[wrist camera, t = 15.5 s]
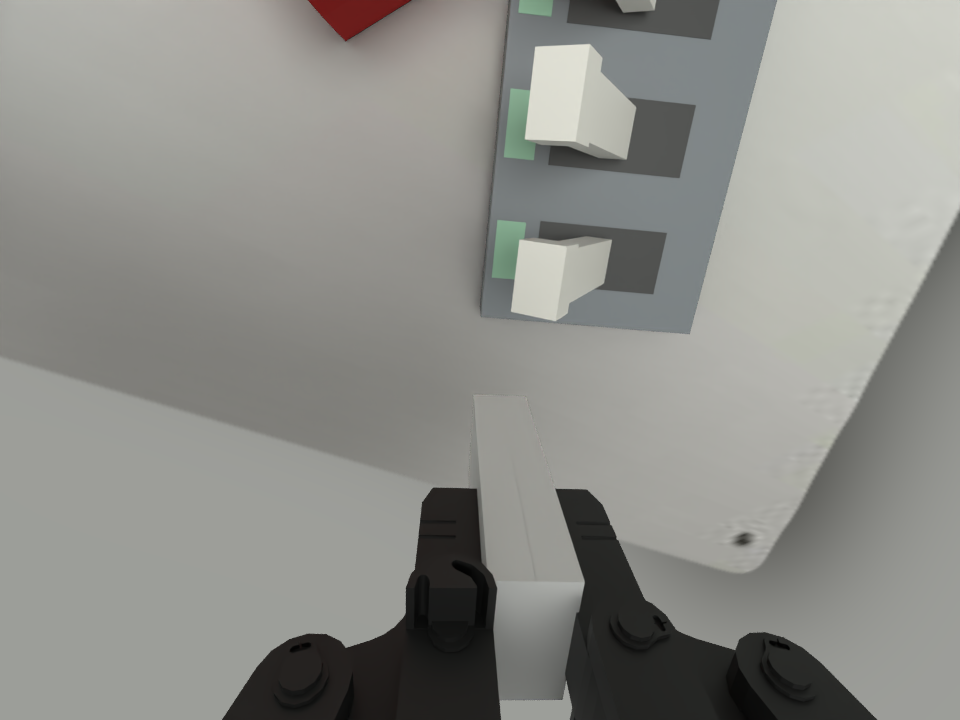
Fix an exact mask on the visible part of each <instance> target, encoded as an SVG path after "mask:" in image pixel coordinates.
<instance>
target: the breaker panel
mask: <svg viewBox="0 0 960 720" xmlns="http://www.w3.org/2000/svg"><path fill="white" fill-rule="evenodd" d="M776 2H777V0H656V4H655V10H653V11H640V12H626V13H623V12H622V10H621V8H620V7H619V5H618V3H617V2H616V0H509V4H508V15H507V26H506V36H505V47H504V58H503V68H502V79H501V90H500V100H499V111H498V122H497V132H496V143H495V154H494V164H493V175H492V185H491V196H490V207H489V217H488V228H487V239H486V249H485V260H484V271H483V281H482V292H481V303H480V311H481V317H489V318H501V319H513V320H525V321H537V322H549V323H561V324H573V325H585V326H598V327H610V328H622V329H634V330H646V331H658V332H670V333H682V334H690V331H691V327H692V323H693V319H694V315H695V311H696V308H697V304H698V300H699V296H700V292H701V289H702V285H703V281H704V277H705V273H706V269H707V266H708V262H709V258H710V254H711V250H712V247H713V243H714V239H715V235H716V231H717V227H718V224H719V220H720V216H721V212H722V208H723V205H724V201H725V197H726V193H727V189H728V186H729V182H730V178H731V174H732V170H733V166H734V163H735V159H736V155H737V151H738V147H739V144H740V140H741V136H742V132H743V128H744V124H745V121H746V117H747V113H748V109H749V105H750V102H751V98H752V94H753V90H754V86H755V83H756V79H757V75H758V71H759V67H760V63H761V60H762V56H763V52H764V48H765V44H766V41H767V37H768V33H769V29H770V25H771V21H772V18H773V14H774V10H775V6H776ZM580 44H590V45H591V46H592V47H593V48H594V49H595V50H596V51H597V52H598V53H599V54H600V56H601V57H602V58H603V59H602V65H601V73H602V74H603V75H604V76H605V77H606V78H607V79H608V80H609V81H610V82H611V83H612V84H613V85H614V86H615V87H616V88H617V89H618V90H620V91H621V92H622V93H623V94H624V95H625V96H626V97H627V98H628V99H629V100H630V101H631V102H632V103H633V104H634V105H635V106H636V112H635V117H634V122H633V128H632V133H631V138H630V144H629V149H628V154H627V160H622V159H605V158H597V157H595V156H592V155H590V154H587V153H584V152H582V151H579V150H576V149H574V148H571V147H569V146H553V145H540V144H537V143H534V142H531V141H528V140H525V132H526V124H527V115H528V106H529V97H530V88H531V80H532V71H533V62H534V53H535V47H538V46H559V45H580ZM585 236H588V237H596V238H604V239H611V240H612V243H611V248H610V254H609V259H608V264H607V270H606V275H605V280H604V284H602V285H600V286H599V287H597V288H595V289H593V290H592V291H590V292H588V293H586V294H585V295H583V296H581V297H580V298H578V299H576V300H574V301H573V302H571V303H569V308H568V314H566V315H565V316H563V317H562V318H560V319H558V320H557V321H552V320H547V319H543V318H538V317H533V316H528V315H524V314H519V313H514V312H511V307H512V298H513V290H514V281H515V273H516V264H517V256H518V247H519V240H520V239H528V238H540V239H547V240H554V241H561V240H567V239H573V238H579V237H585Z"/></svg>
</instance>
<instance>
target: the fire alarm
mask: <svg viewBox="0 0 960 720" xmlns="http://www.w3.org/2000/svg"><path fill="white" fill-rule="evenodd" d="M308 1H309V2H310V3H311V5H312V6H313V7H314V8H315V9H316V10H317V11H318V12H319V14H320V15H321V16H322V17H323V18H324V19H325V20H326V21H327V22H328V23H329V24H330V25H331V26H332V28H333V29H334V30H335V31H336V32H337V33H338V34H339V35H340V36H341V37H342V38H343V39H344V40H345V41H347V40H348V39H350V38H351V37H353V36H355V35H356V34H358V33H359V32H361V31H363V30H364V29H366V28H367V27H369V26H371V25H372V24H374V23H375V22H377V21H379V20H380V19H382V18H383V17H385V16H387V15H388V14H390V13H392V12H393V11H395V10H396V9H398V8H400V7H401V6H403V5H404V4H406V3H408V2H409V1H411V0H308Z"/></svg>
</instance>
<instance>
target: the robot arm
mask: <svg viewBox="0 0 960 720" xmlns="http://www.w3.org/2000/svg"><path fill="white" fill-rule="evenodd" d="M566 681H567V685H568V690H569V694H570V699H571V703H572V712H571V717H570V720H877V719H876V718H875V717H874V716H873V715H872V714H871V713H870V712H869V711H868V710H867V709H866V708H865V707H864V706H863V705H862V704H861V703H860V702H859V701H858V700H857V699H856V698H855V697H854V696H853V695H852V694H851V693H850V692H849V691H848V690H847V689H846V688H845V687H844V686H843V685H842V684H841V683H840V682H839V681H838V680H837V679H836V678H835V677H834V676H833V675H832V674H831V673H830V672H829V671H828V670H827V669H826V668H825V667H824V666H823V665H822V664H821V663H820V662H819V661H818V660H817V659H815V658H814V657H813V656H812V655H811V654H809V653H808V652H807V651H806V650H805V649H803V648H802V647H800V646H798V645H796V644H794V643H793V642H791V641H789V640H787V639H785V638H783V637H780V636H776V635H773V634H769V633H765V632H763V633H749V634H747V635H746V636H744V637H743V638H741V639H740V640H739V642H738V645H737V647H736V650H732V649H729V648H725V647H722V646H719V645H716V644H712V643H709V642H705V641H702V640H698V639H695V638H693V637H690V636H688V635H685V634H683V633H681V632H679V631H677V630H676V629H675V627H674V626H673V625H672V623H671V622H670V620H669V619H668V617H667V616H666V615H665V614H664V613H663V612H662V611H660V610H659V609H658V608H657V607H656V606H654V605H653V604H652V603H650V602H648V601H646V600H645V599H644V597H643V595H642V593H641V591H640V588H639V586H638V584H637V581H636V579H635V577H634V575H633V572H632V570H631V568H630V566H629V563H628V561H627V559H626V557H625V555H624V552H623V550H622V548H621V546H620V543H619V541H618V540H617V539H616V534H615V532H614V530H613V528H612V525H610V521H609V519H608V516H607V514H606V512H605V510H604V508H603V505H602V504H601V503H600V502H599V501H598V500H597V499H596V498H595V497H594V496H593V495H592V494H591V493H590V492H589V491H588V490H583V489H555V487H554V484H553V480H552V477H551V474H550V471H549V468H548V465H547V462H546V458H545V455H544V452H543V449H542V446H541V443H540V440H539V436H538V433H537V430H536V427H535V424H534V421H533V417H532V414H531V411H530V408H529V405H528V402H527V399H526V396H510V395H482V394H474V395H473V411H472V427H471V443H470V459H469V488H432V490H431V491H430V493H429V494H428V495H427V497H426V498H425V499H424V501H423V502H422V509H421V518H420V528H419V538H418V546H417V555H416V564H415V570H414V571H413V572H412V574H411V576H410V578H409V581H408V584H407V586H406V614H405V616H404V617H403V619H402V620H401V621H400V622H399V623H398V624H397V625H396V626H395V627H394V628H393V629H391V630H390V631H388V632H387V633H386V634H384V635H382V636H379V637H377V638H375V639H373V640H370V641H367V642H364V643H360V644H357V645H354V646H351V647H348V648H345V646H344V645H343V644H342V642H341V641H339V640H337V639H335V638H333V637H331V636H328V635H327V634H306V635H302V636H299V637H296V638H292V639H289V640H288V641H286V642H285V643H283V644H281V645H280V646H278V647H277V648H275V649H274V650H272V651H271V652H270V653H269V654H268V655H267V656H266V658H265V659H264V660H263V661H262V662H261V663H260V664H259V665H258V667H257V668H256V670H255V671H254V672H253V674H252V675H251V677H250V678H249V680H248V682H247V683H246V684H245V686H244V687H243V689H242V690H241V692H240V694H239V695H238V697H237V698H236V699H235V701H234V703H233V704H232V706H231V707H230V709H229V710H228V712H227V713H226V715H225V716H224V718H223V719H222V720H501V716H500V705H499V704H500V703H499V700H562V699H563V694H564V689H565V683H566Z"/></svg>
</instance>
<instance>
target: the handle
mask: <svg viewBox="0 0 960 720" xmlns="http://www.w3.org/2000/svg"><path fill="white" fill-rule="evenodd" d="M602 59H603V58H602V57H601V56H600V54H599V53H598V52H597V51H596V50H595V49H594V48H593V47H592V46H591V45H590V44H580V45H559V46H538V47H535V53H534V62H533V71H532V80H531V88H530V97H529V106H528V115H527V124H526V132H525V140H528V141H531V142H534V143H537V144H540V145H553V146H569V147H571V148H574V149H576V150H579V151H582V152H584V153H587V154H590V155H592V156H595V157H597V158H605V159H622V160H627V154H628V149H629V144H630V138H631V133H632V128H633V122H634V117H635V112H636V106H635V105H634V104H633V103H632V102H631V101H630V100H629V99H628V98H627V97H626V96H625V95H624V94H623V93H622V92H621V91H620V90H618V89H617V88H616V87H615V86H614V85H613V84H612V83H611V82H610V81H609V80H608V79H607V78H606V77H605V76H604V75H603V74H602V73H601V65H602Z"/></svg>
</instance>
